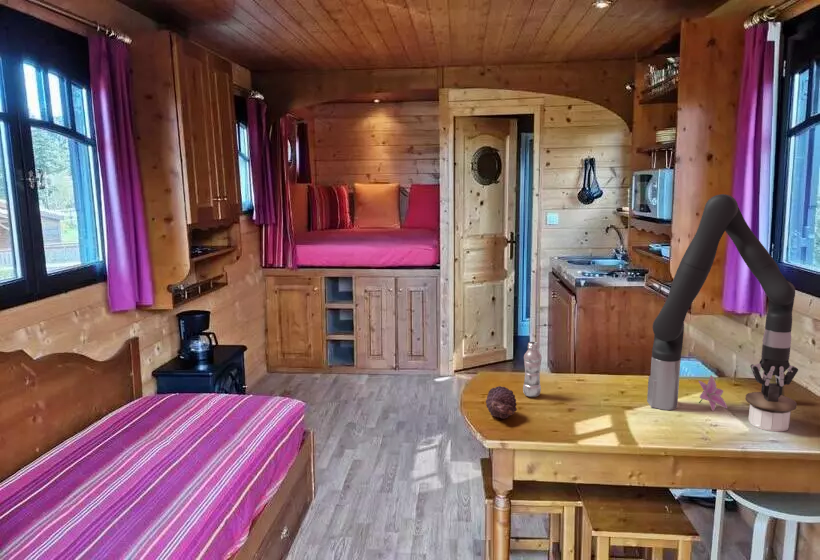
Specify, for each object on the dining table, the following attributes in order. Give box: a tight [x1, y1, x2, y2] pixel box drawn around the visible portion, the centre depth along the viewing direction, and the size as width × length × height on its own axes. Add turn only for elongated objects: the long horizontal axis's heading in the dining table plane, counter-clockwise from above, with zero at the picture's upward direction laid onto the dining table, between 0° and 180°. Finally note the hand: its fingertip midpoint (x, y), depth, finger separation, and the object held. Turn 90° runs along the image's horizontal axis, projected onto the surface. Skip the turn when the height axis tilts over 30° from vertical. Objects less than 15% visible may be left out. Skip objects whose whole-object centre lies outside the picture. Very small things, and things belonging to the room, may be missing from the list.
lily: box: [698, 374, 728, 412], centre depth 207 cm, size 12×12×10 cm
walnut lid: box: [745, 382, 797, 412], centre depth 190 cm, size 14×14×6 cm
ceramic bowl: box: [748, 403, 792, 433], centre depth 191 cm, size 11×11×6 cm
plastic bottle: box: [522, 341, 543, 398], centre depth 216 cm, size 6×7×20 cm
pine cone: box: [485, 385, 518, 420], centre depth 199 cm, size 18×10×10 cm, turn 6°
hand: (771, 395), depth 190 cm, fingers closed on walnut lid, 3 cm apart
